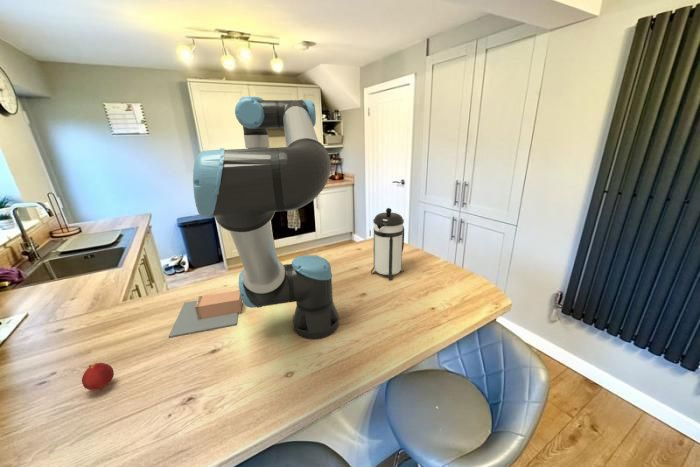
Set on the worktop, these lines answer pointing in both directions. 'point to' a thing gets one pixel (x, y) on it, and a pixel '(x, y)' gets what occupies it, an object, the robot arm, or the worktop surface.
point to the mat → (199, 321)
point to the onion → (97, 376)
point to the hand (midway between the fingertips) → (266, 218)
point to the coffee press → (388, 243)
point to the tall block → (218, 304)
